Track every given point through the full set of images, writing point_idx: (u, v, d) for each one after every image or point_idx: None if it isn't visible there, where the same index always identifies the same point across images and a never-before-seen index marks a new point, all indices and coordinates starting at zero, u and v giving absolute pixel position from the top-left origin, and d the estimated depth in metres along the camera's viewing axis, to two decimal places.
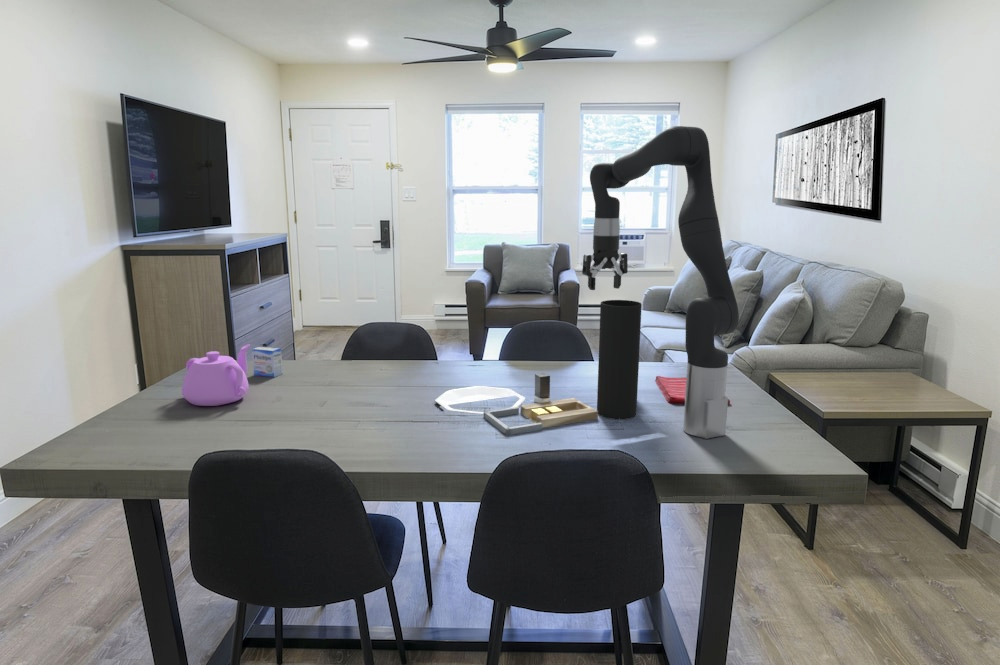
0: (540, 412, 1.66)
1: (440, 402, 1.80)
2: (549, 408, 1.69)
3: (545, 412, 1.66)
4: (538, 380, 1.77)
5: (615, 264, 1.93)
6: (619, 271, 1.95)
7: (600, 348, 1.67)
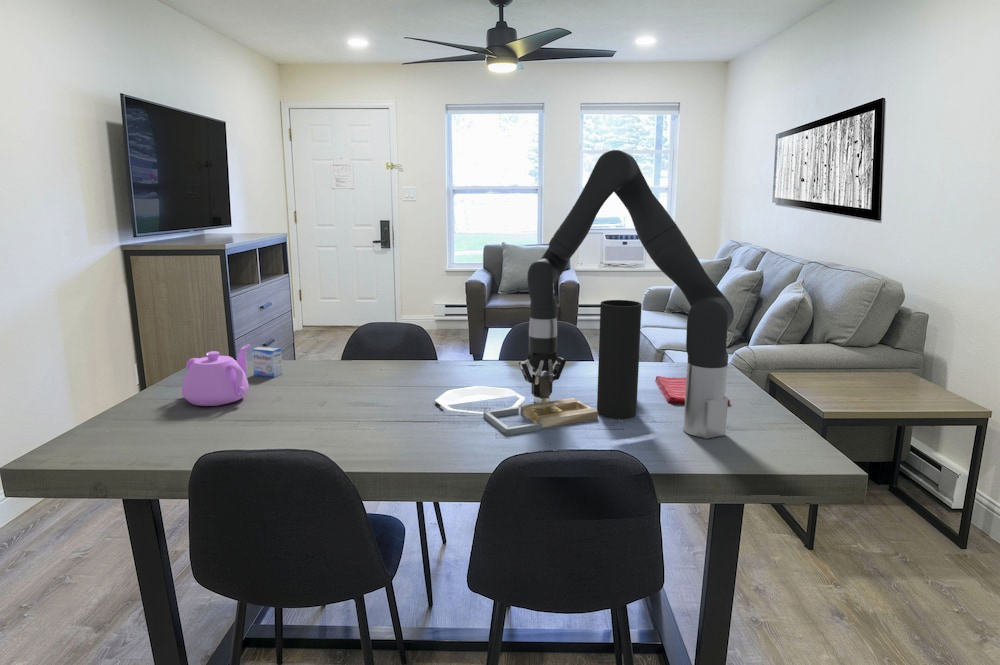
0: (540, 412, 1.66)
1: (440, 402, 1.80)
2: (549, 408, 1.69)
3: (545, 412, 1.66)
4: None
5: (550, 368, 1.77)
6: (550, 378, 1.78)
7: (600, 348, 1.67)
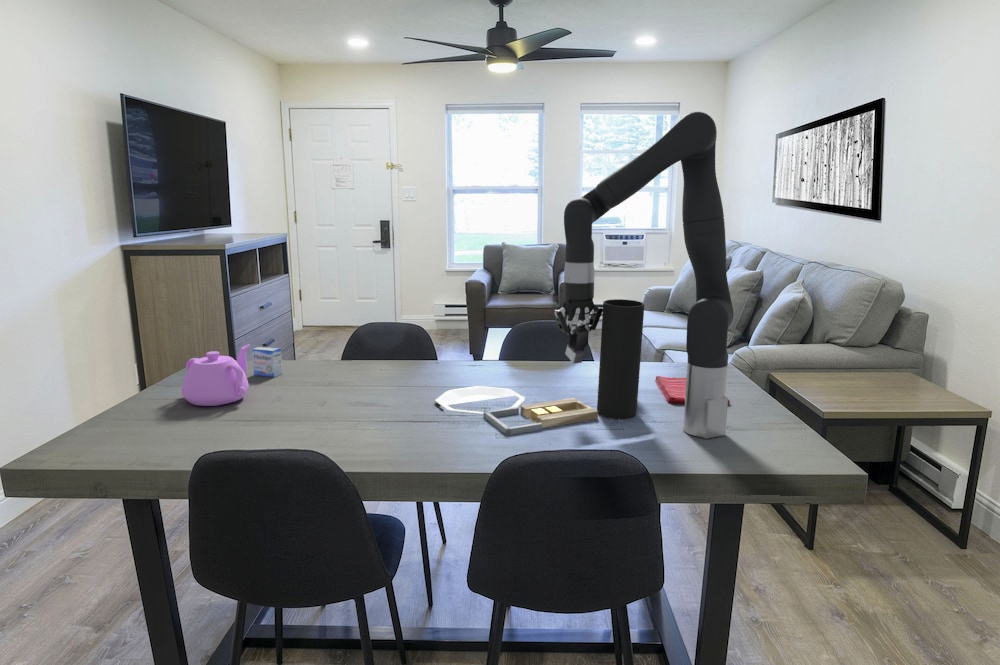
0: (540, 412, 1.66)
1: (440, 402, 1.80)
2: (549, 408, 1.69)
3: (545, 412, 1.66)
4: (575, 334, 1.65)
5: (586, 316, 1.65)
6: (586, 327, 1.66)
7: (602, 348, 1.67)
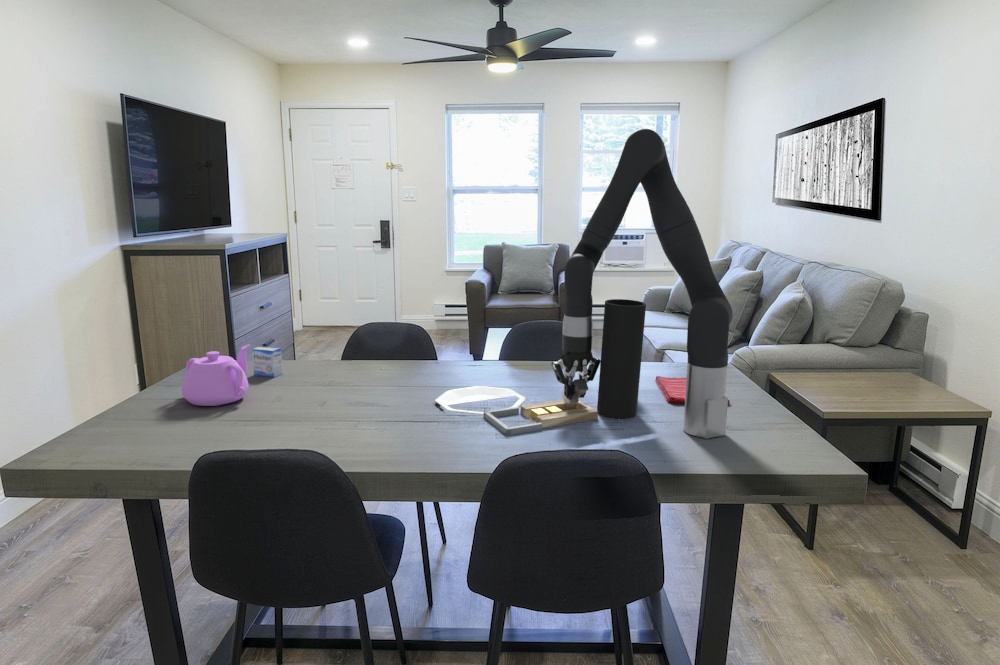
0: (540, 412, 1.66)
1: (440, 402, 1.80)
2: (549, 408, 1.69)
3: (545, 412, 1.66)
4: (575, 389, 1.67)
5: (584, 368, 1.68)
6: None
7: (603, 347, 1.67)
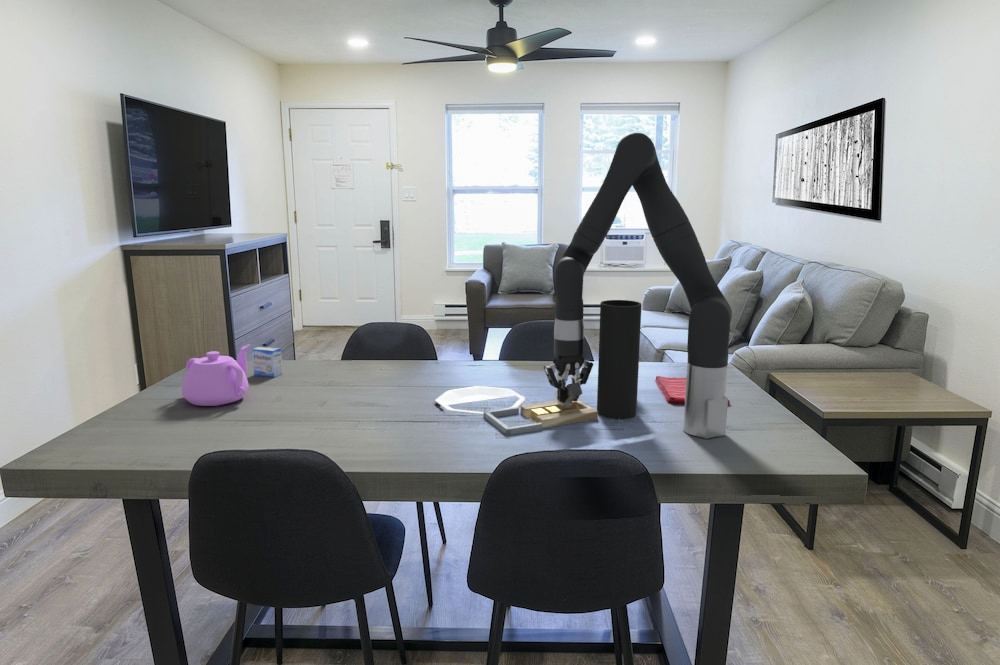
0: (540, 412, 1.66)
1: (440, 402, 1.80)
2: (549, 408, 1.69)
3: (545, 412, 1.66)
4: (569, 393, 1.66)
5: (577, 372, 1.67)
6: (576, 382, 1.68)
7: (600, 348, 1.67)
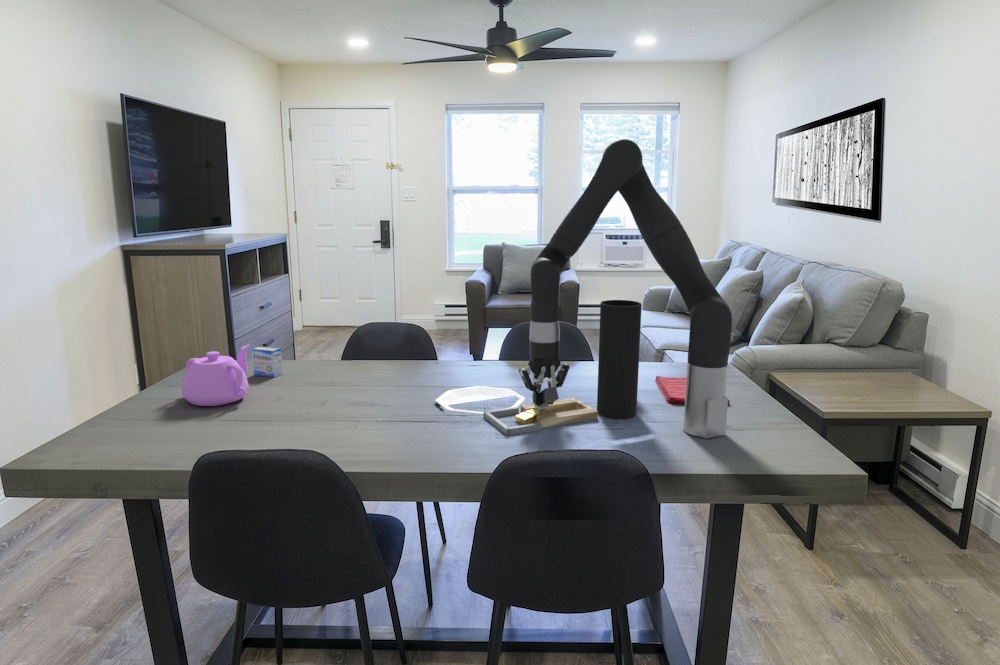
0: (526, 417, 1.63)
1: (440, 402, 1.80)
2: (530, 411, 1.66)
3: (530, 415, 1.64)
4: (545, 397, 1.63)
5: (552, 374, 1.64)
6: (552, 385, 1.65)
7: (600, 348, 1.67)
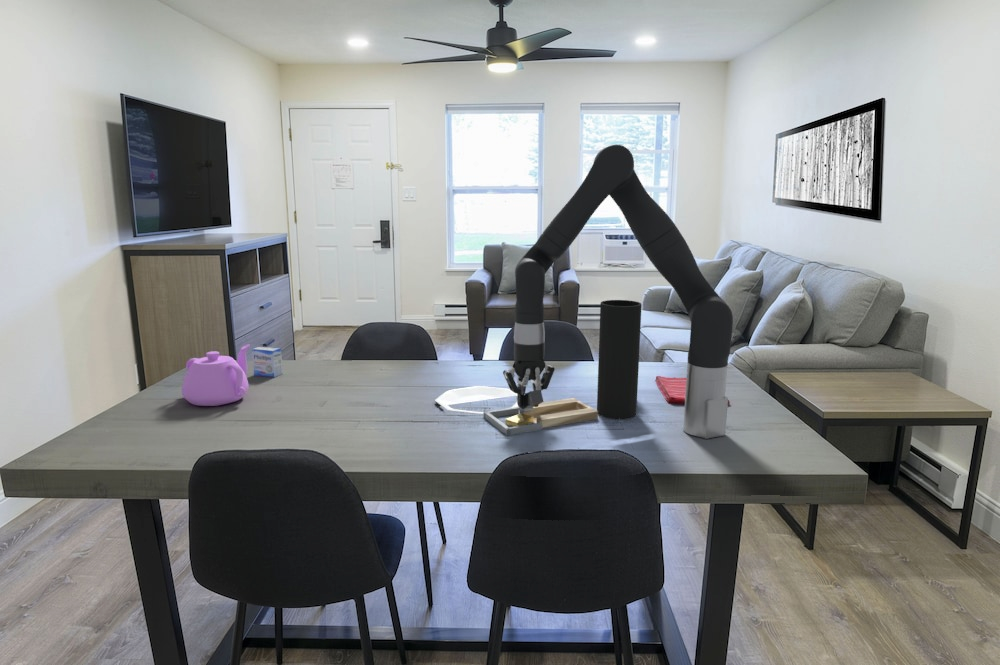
0: (517, 420, 1.62)
1: (440, 402, 1.80)
2: (518, 416, 1.65)
3: (522, 420, 1.62)
4: (529, 400, 1.61)
5: (537, 377, 1.63)
6: (537, 387, 1.64)
7: (600, 348, 1.67)
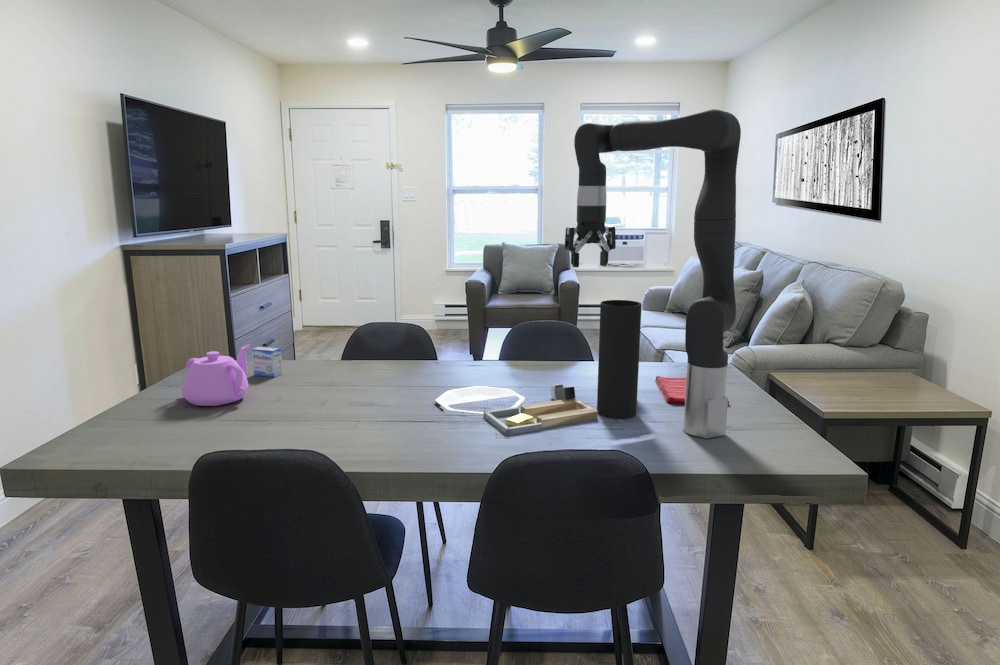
0: (517, 420, 1.62)
1: (440, 402, 1.80)
2: (518, 416, 1.65)
3: (522, 420, 1.62)
4: (563, 395, 1.77)
5: (601, 238, 1.72)
6: (606, 246, 1.74)
7: (600, 348, 1.67)
